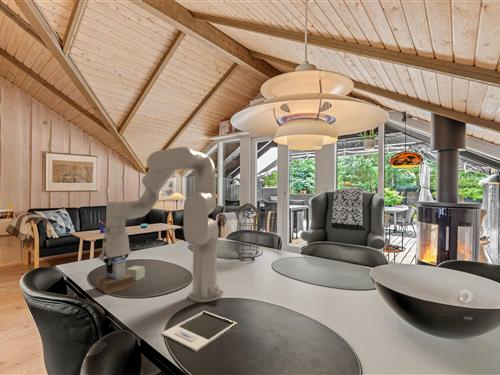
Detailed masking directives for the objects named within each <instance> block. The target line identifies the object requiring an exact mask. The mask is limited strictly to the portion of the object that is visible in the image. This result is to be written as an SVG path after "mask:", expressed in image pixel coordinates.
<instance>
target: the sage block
mask: <svg viewBox="0 0 500 375" xmlns="http://www.w3.org/2000/svg"><path fill="white" fill-rule="evenodd" d="M125 273H126V274H129V275H131V276H133V281H139V280H141V279H143V278H145V277H146V267H145V266H141V265H133V266H130V267H128V268H125Z"/></svg>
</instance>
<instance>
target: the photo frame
mask: <svg viewBox="0 0 500 375" xmlns="http://www.w3.org/2000/svg"><path fill="white" fill-rule="evenodd" d="M203 312H204V313H205V314H208V315H211V316H214V317H216V318H219V319H222V320H224V319H225V321H227V320H228V322H230V323H232V322H233V323H232V324H230V325H228V326H227V327H226V328H224V329H223V330H221V331H219V332H218V333H216V335H214V336H212V337H210V338H209V339H207V338H205V337H203V336H201V335H198V334H196V333H193V332H192V331H189V330H187V329H185V328H183V327H181V326H183V325H185V324H187V323H189V322H191V321H193V320H195V319H197V318H199V316H200V317H201V316H202V315H203ZM192 319H193V320H192ZM190 320H191V321H190ZM188 321H189V322H188ZM186 322H187V323H186ZM235 324H237V325H238V322H236V321H233V320H231V319H228V318H225V317H222V316H220V315H217V314H215V313H212V312H209V311H207V310H203V311H201V312H199V313H197V314H195V315H193V316H191V317H190V318H187V319H186V320H184V321H182V322H179V323H178V324H175V325H173V326H172V327H170V328H168V329H166V330H164V331H163V332H161V335H162V336H165V337H166V336H167V337H166V338H168V337H169V338H168V339H170V338H171V340H172V339H173V340H172V341H174V340H175V342H176V341H177V342H176V343H178V342H179V343H178V344H180V343H181V344H180V345H182V344H183V345H182V346H184V345H185V347H186V346H187V348H188V347H189V348H188V349H190V348H191V350H193V351H195V352H198V351H200V349H202V348H204V347H205V346H207V345H209V344H210V343H212V342H213V341H215V340H216V339H217V338H219V337H220V336H222V335H223V334H225V333H226V332H228V331H229V330H231V329H232V328H233V327H232V326H234V325H235ZM235 326H236V325H235ZM235 326H234V327H235ZM231 327H232V328H231ZM230 328H231V329H230ZM227 330H228V331H227ZM224 332H225V333H224ZM221 334H222V335H221Z"/></svg>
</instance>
